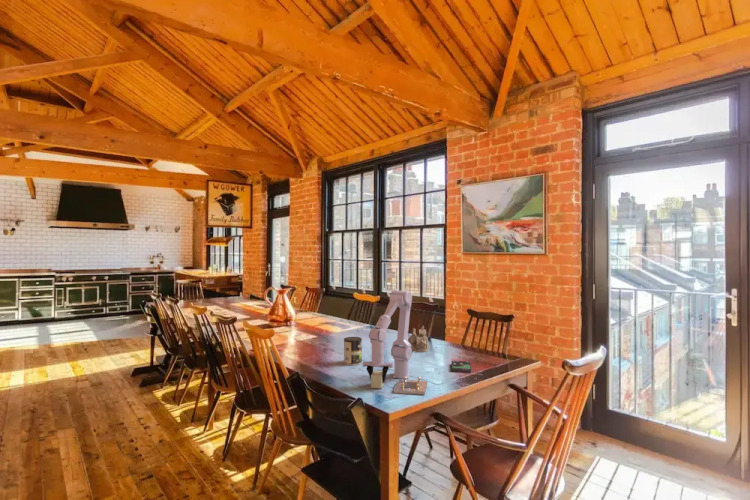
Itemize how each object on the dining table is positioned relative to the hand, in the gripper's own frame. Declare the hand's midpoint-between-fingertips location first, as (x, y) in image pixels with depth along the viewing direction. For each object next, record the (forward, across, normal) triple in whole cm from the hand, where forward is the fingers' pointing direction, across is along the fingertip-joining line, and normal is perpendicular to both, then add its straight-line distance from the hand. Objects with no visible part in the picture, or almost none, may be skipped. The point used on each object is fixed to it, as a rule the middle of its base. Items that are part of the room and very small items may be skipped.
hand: (377, 381), depth 199 cm
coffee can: (+2, -22, +37) cm, 43 cm away
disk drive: (+3, +39, +37) cm, 54 cm away
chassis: (+2, +16, -1) cm, 16 cm away
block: (+2, 0, 0) cm, 2 cm away
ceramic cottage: (+2, +11, +77) cm, 77 cm away
